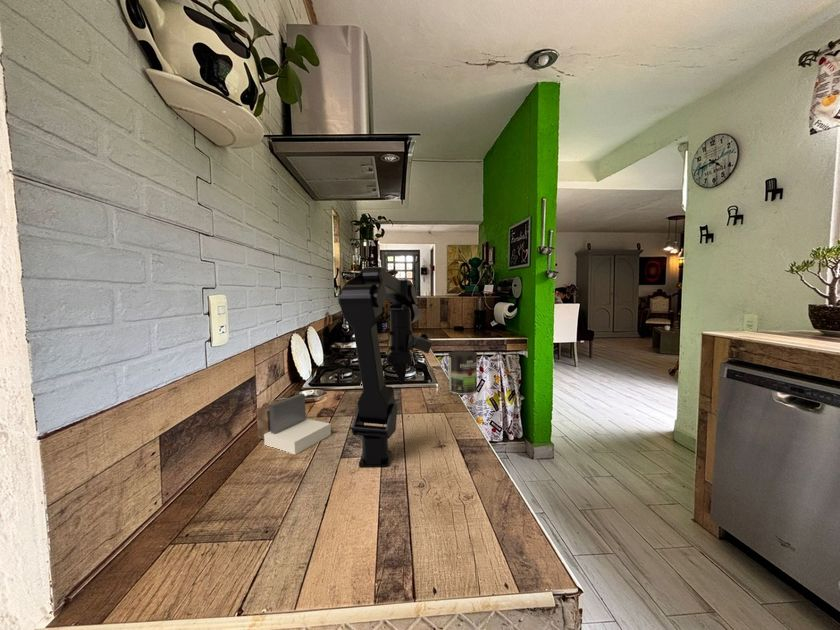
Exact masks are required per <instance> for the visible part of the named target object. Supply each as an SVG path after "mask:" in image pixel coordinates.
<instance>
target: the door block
mask: <svg viewBox="0 0 840 630" xmlns="http://www.w3.org/2000/svg"><path fill="white" fill-rule="evenodd" d="M331 427H332V425H331V423H328V422H324V421H320V420H315V419H311V418H306V420H304V421H302V422H300V423H297V424H295V425H293V426H291V427H289V428H286V429H284V430H282V431H280V432H278V433H276V434H274V433H271V431H270V432H268V433H266V434H264V440H263V442H264V446H265V445H267V446H270V447H274V448H277V449H280V450H279V451H281V450H283V451H282V452H284V451H286V452H285V453H288V452H289V453H288V454H292V455H294V456H295V455H297V454H299V453H300V452H301V453H302V452H303V451H304V450H306V449H308V448H309V447H312V446H313V445H315V444H316V443H319V442H320V441H322V440H325V438H328V437H330V436H331V435H332V431H331V430H332V428H331ZM267 446H266V447H267ZM270 447H269V448H270ZM274 448H273V449H274ZM277 449H276V450H277Z"/></svg>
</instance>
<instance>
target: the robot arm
mask: <svg viewBox="0 0 840 630" xmlns="http://www.w3.org/2000/svg"><path fill="white" fill-rule="evenodd" d="M337 298H338V299H337V300H338V305H339V307H340V309H341V313H342V317H343V319H344V320H345V322H346V323H347V324H348V325H349V327H351V328H352V330H353V337H354V341H355V347H356V348H355V349H356V355H357V360H358V368H359V372H360V378H361V382H362V387H363V390H362V392H361V395H360V396H359V398H358V401H357V408H356V412H355V416H354V418H353V422H352V425H351V433H352V436H359V437H360V436H361V448H362V449H361V452H362V453H361V455H360V459H359V461H358V467H360V468H372V467H373V468H375V467H376V468H378V467H383V468H385V467H389V466H390V461H391V455H392V450H389V439H390V438H392V436H393V434H394V433H395V432H396V430H397V420H398V419H397V417H398V405H397V403H396V399H395V390H394V388H393V386H387V385H386V383H385V378H384V372H383V371H384V370H383V368H382V367H383V363H382V356H381V355H382V354H381V347H380V341H379V333H378V321H379V319H380V317H381V315H382V313H383V304H384V302H385V301H386V300H387V303H389V307H388V311H389V320H390V322H389V327H390V328H389V329H390V330H389V336H390V345H389V347H390V349H389V350H390V351H389V352H388V353H387V355H386V364H389V365H391V366H392V367H393V370H394V372H395V374H396V376H397V378H398V380H399V382H400V383H401V384H403V383H405V380H406V375H407V374H406V373H407V367H408V364H412V362H413V356H414V355H413V352H414V351H415V350H418V351H422V352H423V353H425V354H429V353H430V352H431V351H430V350H431V347H432V345H433V340H432V339H430V338H428V334H427V333H424V332H422V333H421V334H420V335H419V334H414V333H413V332H414V330H413V329H412V324H413V323H415V322H417V321H418V320H419V318H420V316H421V312H420V308H419V307H418V306H417V305H418V303H419V301H418V297H417V292H416V288H415V284H414V283H413V281H412V280H409V279H399V278H397V277H395V276H394V275H392V274H391V273H389V272H388V271H387V270H386V268H385V267H382V266H368V267H367V266H366V267H364V268H361V270H360V271H359V273H358V274H357V275H354V276H353V277H352V278H350V279H348V280H346V282H345V283H344V285H343V287H342V288H341V290H340V291H339V293H338V297H337ZM368 424H369V425H368ZM373 424H374V425H373ZM383 425H385V426H383Z"/></svg>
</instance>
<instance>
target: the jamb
mask: <svg viewBox="0 0 840 630" xmlns="http://www.w3.org/2000/svg"><path fill="white" fill-rule="evenodd" d="M282 400H283V399H280V400H276V401H274V402H272V403H268V404H266V405H263V406H261V407H258V408H256V421H257V438H258V437H259V438H262V439H264V434H266V433H268V432H270V431H271V428H270V411H269V405H271V404H273V403H276V402H279V401H282Z"/></svg>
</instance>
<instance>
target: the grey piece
mask: <svg viewBox="0 0 840 630" xmlns="http://www.w3.org/2000/svg"><path fill="white" fill-rule="evenodd" d="M305 398H306V396H305V393H299V394H298V393H297V394H296V395H293V396H290V397H288V398H285V399H284V398H283V399H281V400H282V401H280V400H278V401H279V402H277V401H275V402H276V403H274V402H272V403H273V404H271V403H270V404H271V405H269V404H268V405H269V411H270V428H271V433H274V434H276V433H278V432H280V431H282V430H284V429H286V428H289V427H291V426H293V425H295V424H297V423H300V422H302V421H304V420H306V419H307V417H306V416H307V415H306V414H307V413H306V412H307V411H306V399H305Z"/></svg>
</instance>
